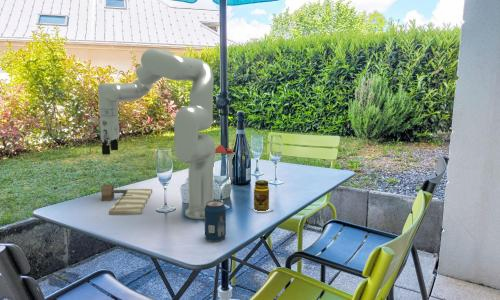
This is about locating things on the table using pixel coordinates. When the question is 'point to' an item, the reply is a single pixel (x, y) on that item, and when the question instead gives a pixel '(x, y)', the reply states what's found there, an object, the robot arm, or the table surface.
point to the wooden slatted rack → (131, 202)
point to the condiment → (261, 195)
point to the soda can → (215, 220)
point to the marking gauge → (109, 192)
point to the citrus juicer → (231, 154)
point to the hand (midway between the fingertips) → (110, 152)
